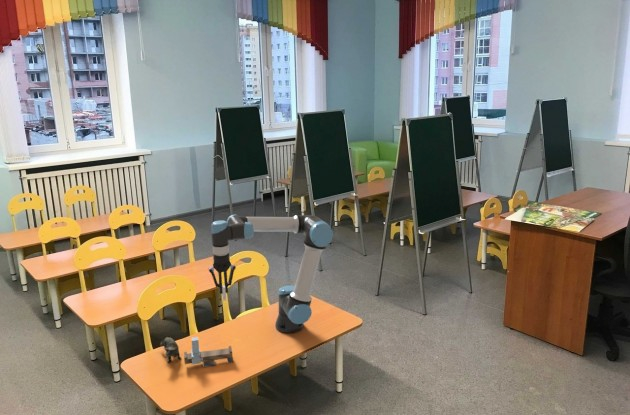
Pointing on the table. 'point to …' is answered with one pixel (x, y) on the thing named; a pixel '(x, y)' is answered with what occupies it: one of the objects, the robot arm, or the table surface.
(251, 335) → the table surface
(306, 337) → the table surface
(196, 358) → the rider
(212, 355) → the beam
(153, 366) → the table surface
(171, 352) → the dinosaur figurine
